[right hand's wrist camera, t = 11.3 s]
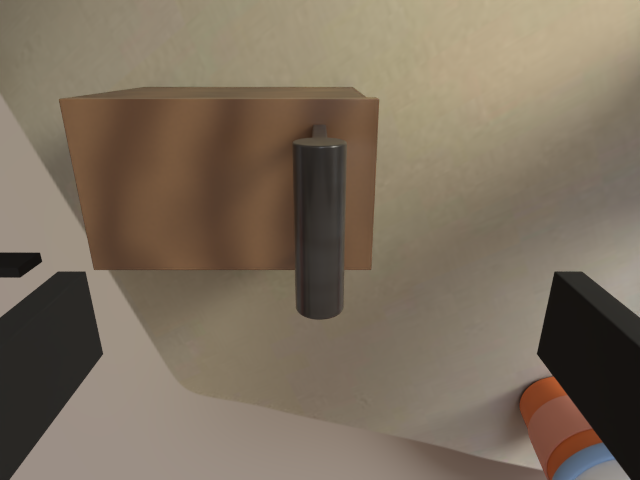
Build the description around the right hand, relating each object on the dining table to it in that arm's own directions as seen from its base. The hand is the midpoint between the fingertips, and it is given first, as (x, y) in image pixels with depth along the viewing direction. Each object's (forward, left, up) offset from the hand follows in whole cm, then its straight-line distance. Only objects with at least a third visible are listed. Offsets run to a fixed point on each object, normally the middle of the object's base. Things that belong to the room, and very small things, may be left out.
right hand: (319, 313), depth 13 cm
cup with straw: (+20, +27, -25) cm, 42 cm away
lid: (+1, -5, -14) cm, 15 cm away
